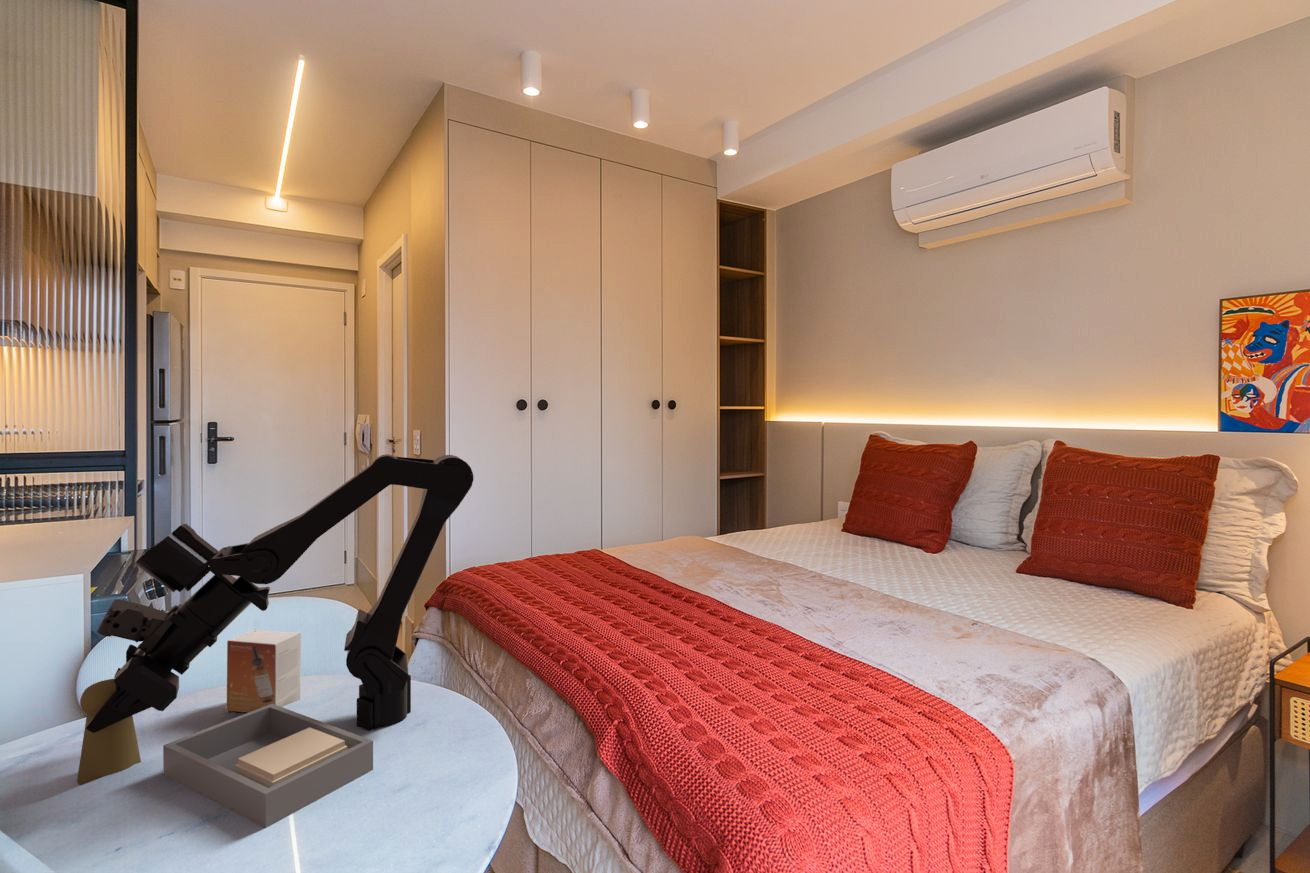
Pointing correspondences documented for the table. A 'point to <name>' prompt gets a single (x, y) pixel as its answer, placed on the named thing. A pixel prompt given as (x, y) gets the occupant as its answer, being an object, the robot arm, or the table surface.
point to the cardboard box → (289, 757)
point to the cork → (105, 738)
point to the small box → (263, 670)
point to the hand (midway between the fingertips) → (94, 721)
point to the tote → (217, 749)
